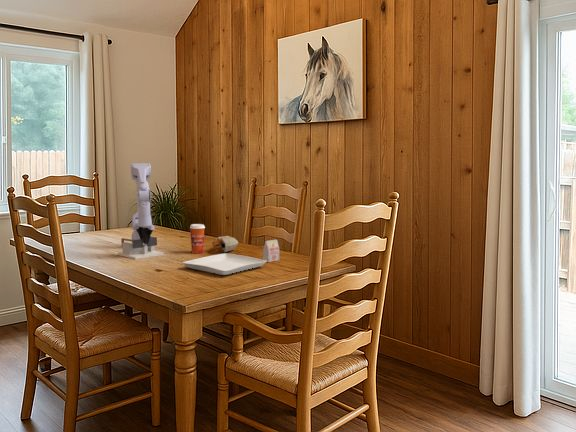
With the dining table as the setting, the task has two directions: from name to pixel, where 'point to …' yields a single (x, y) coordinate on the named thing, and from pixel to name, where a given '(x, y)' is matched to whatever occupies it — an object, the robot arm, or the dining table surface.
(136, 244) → the glasses
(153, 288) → the dining table surface
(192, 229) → the paper cup
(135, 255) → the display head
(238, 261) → the square plate
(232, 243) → the nautilus
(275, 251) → the milk carton
